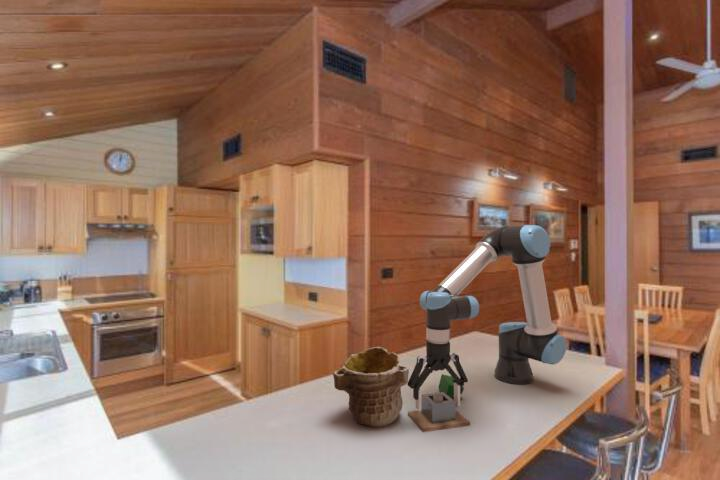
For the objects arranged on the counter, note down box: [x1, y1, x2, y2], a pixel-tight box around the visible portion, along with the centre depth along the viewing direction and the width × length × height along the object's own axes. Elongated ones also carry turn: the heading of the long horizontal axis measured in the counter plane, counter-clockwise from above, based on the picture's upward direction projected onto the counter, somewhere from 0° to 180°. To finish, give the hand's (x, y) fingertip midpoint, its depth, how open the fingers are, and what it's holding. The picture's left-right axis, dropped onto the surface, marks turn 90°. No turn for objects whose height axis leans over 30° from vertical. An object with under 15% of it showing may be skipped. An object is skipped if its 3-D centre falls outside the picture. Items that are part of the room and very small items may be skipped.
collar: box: [421, 392, 457, 424], centre depth 126 cm, size 8×8×6 cm
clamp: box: [438, 373, 465, 399], centre depth 147 cm, size 12×6×9 cm, turn 175°
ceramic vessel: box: [332, 346, 410, 428], centre depth 127 cm, size 23×24×25 cm
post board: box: [407, 392, 471, 433], centre depth 126 cm, size 16×12×8 cm
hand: (438, 406), depth 126 cm, fingers open, 13 cm apart
